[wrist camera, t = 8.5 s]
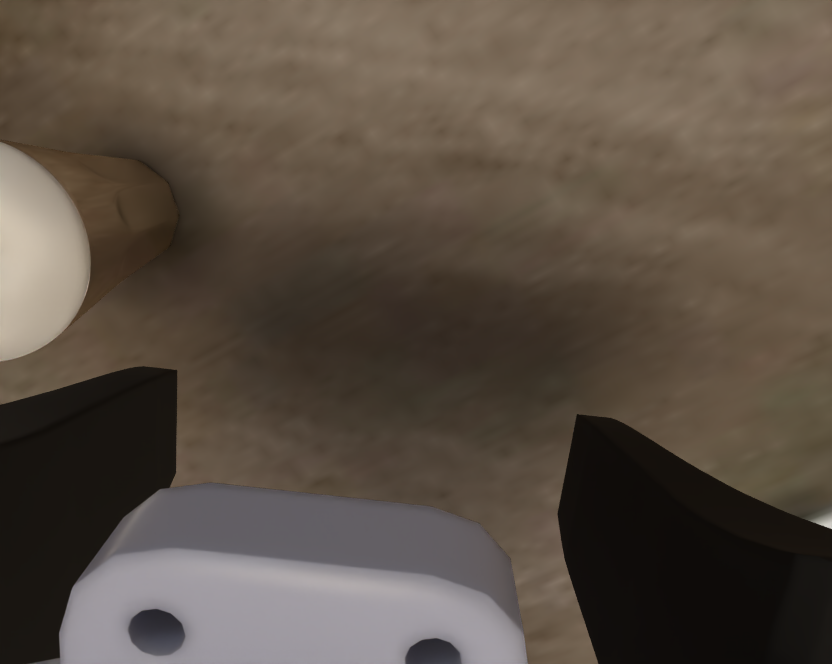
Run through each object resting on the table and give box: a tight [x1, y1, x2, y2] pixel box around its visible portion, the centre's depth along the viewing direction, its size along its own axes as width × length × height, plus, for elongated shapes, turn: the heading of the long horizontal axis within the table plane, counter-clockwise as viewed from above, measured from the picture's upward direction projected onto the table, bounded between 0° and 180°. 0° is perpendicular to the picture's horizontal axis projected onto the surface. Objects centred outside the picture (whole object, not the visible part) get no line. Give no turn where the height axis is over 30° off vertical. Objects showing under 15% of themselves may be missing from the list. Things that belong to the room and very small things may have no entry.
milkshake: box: [0, 140, 179, 361], centre depth 18 cm, size 4×5×10 cm
